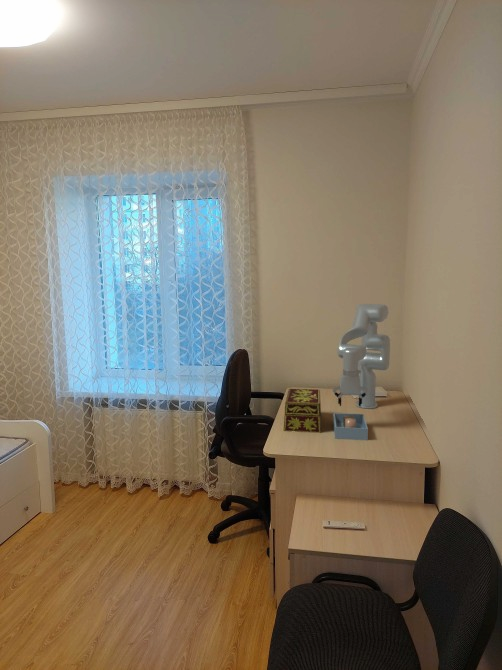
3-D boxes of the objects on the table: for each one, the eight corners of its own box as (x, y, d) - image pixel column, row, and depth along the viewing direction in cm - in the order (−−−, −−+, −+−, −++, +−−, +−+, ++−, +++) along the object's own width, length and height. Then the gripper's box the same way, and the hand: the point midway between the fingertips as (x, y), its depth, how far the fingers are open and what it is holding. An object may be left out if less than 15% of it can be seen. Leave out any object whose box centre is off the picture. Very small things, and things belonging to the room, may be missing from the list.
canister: (344, 431, 226) (345, 417, 224) (355, 431, 225) (355, 418, 224) (345, 435, 221) (345, 421, 220) (355, 435, 220) (356, 421, 219)
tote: (333, 423, 239) (333, 412, 238) (362, 424, 237) (363, 414, 236) (334, 438, 218) (335, 427, 217) (367, 440, 216) (367, 428, 215)
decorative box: (287, 413, 255) (287, 387, 253) (321, 414, 252) (321, 388, 250) (283, 431, 228) (283, 402, 226) (320, 433, 225) (321, 404, 223)
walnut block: (343, 424, 234) (343, 415, 234) (353, 425, 234) (353, 416, 233) (343, 428, 229) (344, 418, 229) (354, 428, 229) (354, 419, 228)
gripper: (367, 370, 230) (366, 403, 233) (332, 370, 232) (332, 402, 236) (369, 375, 222) (368, 408, 226) (333, 374, 225) (332, 407, 228)
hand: (349, 405), depth 231 cm, fingers open, 9 cm apart
